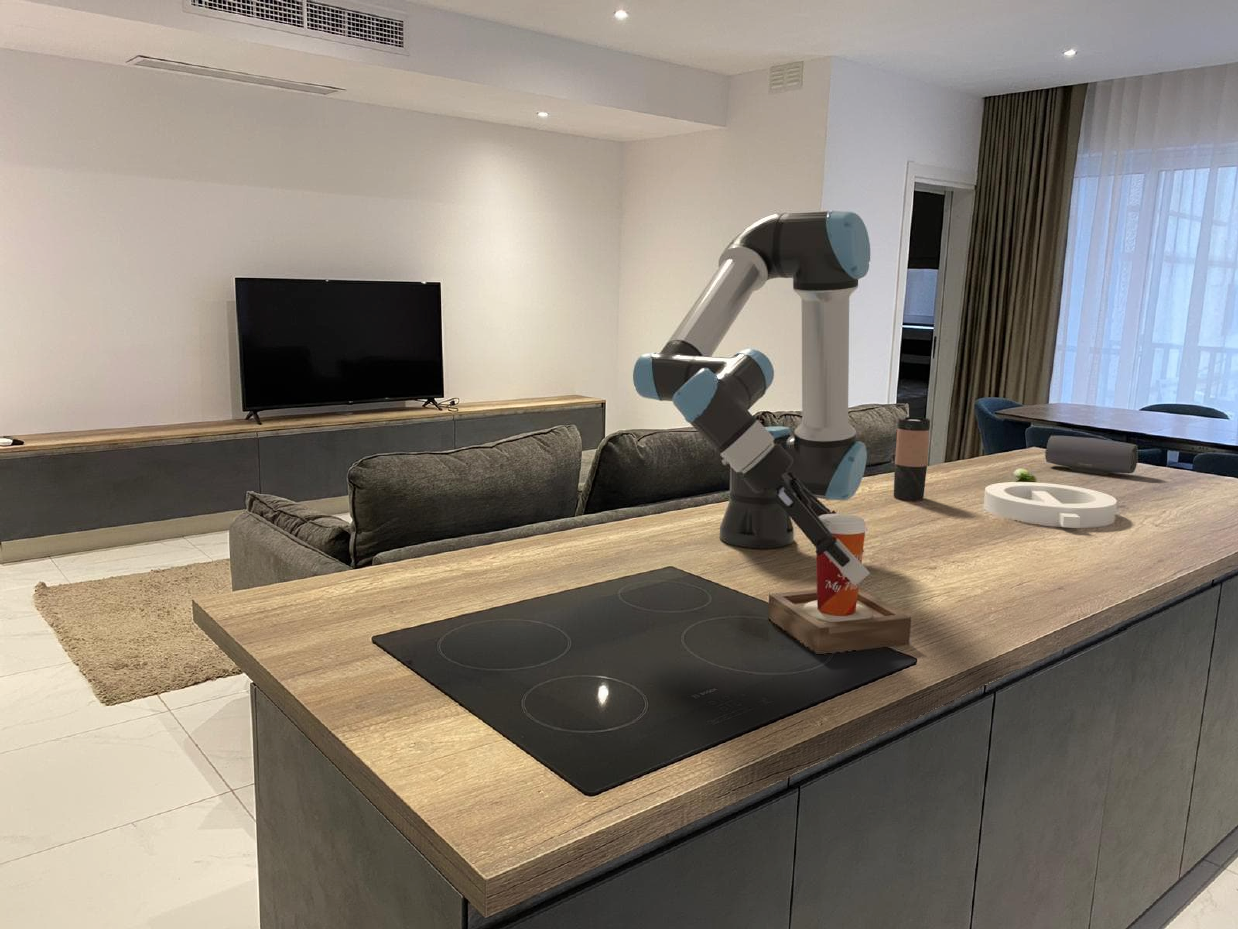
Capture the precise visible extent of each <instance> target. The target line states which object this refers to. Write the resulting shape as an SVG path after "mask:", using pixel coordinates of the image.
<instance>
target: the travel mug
mask: <svg viewBox="0 0 1238 929" xmlns="http://www.w3.org/2000/svg"><path fill="white" fill-rule="evenodd" d="M897 420H898V422H897V430H896V431H897V434H896V447H895V455H894V456H895V458H894V475H893V476H894V479H893V497H894V499H896V500H900V501H906V502H907V501H909V502H919V501H923V499H924V497H925V496H924V495H925V487H926V478H927V468H928V458H929V457H928V455H929V444H930V441H929V440H930V427H931V426H930V425H931V419H929V418H925V417H917V416H907V417H905V418H903V419H902V418H900V417H899V418H897Z"/></svg>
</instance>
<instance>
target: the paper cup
mask: <svg viewBox="0 0 1238 929" xmlns="http://www.w3.org/2000/svg"><path fill="white" fill-rule="evenodd" d="M819 518H820V520H821V521H822V522H823V524H824V525H825V526H826V527H827V529H828V530H829V531H830V533H831V534H832V535H833V536H834V537H835V538H836V540H837V539H839V540H840V541H841V543H842V544H843V545H844V546H845V547H846V548H847V549H848V550H849V551H850V552H851V553H852V554H853V555H854V556H855V557H856V559H857V560H858V561H859V562H860V563H861V564H862V561H863V553H864V552H863V549H864V545H865V538H866V532H867V531H868V527H867V525H866V522H865V520H864V518H863V517H859V516H858V515H857V516H856V515H853V514H848V513H847V514H845V513H837V514H824V515H821V516H819ZM824 538H825V537H823V538H822V539H824ZM822 539H821V540H822ZM815 551H817V549H816V548H815ZM815 553H816V552H815ZM815 556H816V563H815V564H816V589H817V607H818V610H819V611H820V612H822V613H825V614H828V615H834V616H847V615H852V614H854V613H855V610H856V604H857V596H858V588H859V589H860V587H859V586H860V582H859V583H858V584H856V585H854V584H853V583H852V582H851V581H850V580H849V579H848V578H847V577H846V576H845V575H844V574H843V573H842V572H841V570H840V569H839V568H838V567H837V566H836V565H835V564H834V563H833V562H832V561H831V560H830V559H829V558H828V557H827V556H826V554H825V553H822V554H821V555H820V556H819V555H818V554H817V553H816V555H815Z"/></svg>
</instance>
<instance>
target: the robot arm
mask: <svg viewBox="0 0 1238 929" xmlns="http://www.w3.org/2000/svg"><path fill="white" fill-rule="evenodd" d="M870 262H871V243H870V237H869V232H868V229H867V226H866V224H865V223H864V220H863V219H862V218H861V217H860V215H859V214H858V213H855V212H853V211H845V210H843V211H842V210H840V211H839V210H834V209H833V210H827V211H826V210H825V211H812V212H811V211H810V212H794V213H791V212H790V213H787V212H784V213H782V212H781V213H774V214H772V215H771V214H770V215H768V216H766V217H764V218H761V219H760V220H758V221H756V222H754V223H752V224H751V225H750V226H748V227H747V228H745V229H744V230H743V231H741V232H740V233H739V234H738V235H737V236H735V238H733V239H732V240H731V241H730V243H729V244H728V245H727V246H726V248H724V251H722V253H721V255H720V256H719V258H718V265H717V266H718V268H717V270H716V271H715V273H714V275H713V276H712V277H711V279H710V280H709V282H708V283H707V285H706V286H705V288H704V289H703V291H702V292H701V293H700V295H699V296H698V297H697V299H696V300H695V302H694V303H693V305H692V307H690V309H689V311H687V313H686V314H685V316H684V318H683V319H682V321H681V322H680V324H679V325H678V327H677V328H676V330H674V333H673V334H672V335H671V337H670V338H669V339H668V341H667V342H666V343H665V345H664V347H663V348H662V350H660V352H659V353H656V352H652V353H651V352H650V353H644V354H643V355H640V356H639V357H638V359H637V360H636V361H635V364H634V367H633V371H632V382H633V385H634V387H635V391H636V392H637V394H638V395H639V396H640V397H642V398H644V399H650V400H655V401H660V402H663V401H664V402H672V403H673V404H672V405H674V407H675V408H676V409H677V410H678V411H679V413H680V414H681V415H682V416H683V417H684V420H685V421H686V422H687V423H689V424H690V425H691V426H692V427H693V428H694V429H695V430H696V431H697V432H698V433H699V434H700V435H701V436H702V438H704V440H706V442H708V444H709V445H710V446H711V447H712V448H714V450H715V451H716V453H717V454H719V455H720V457H722V459H721V463H722V464H723V465H724V466H726V465H728V464H729V466H730V470H729V471H730V472H729V473H730V474H729V501H728V505H727V507H726V510H725V513H724V515H723V517H722V519H721V520H722V521H721V523H720V526H719V539H720V540H721V541H722V542H724V543H726V544H729V545H733V546H736V547H742V548H749V549H777V548H785V547H788V546H790V545H791V544H793V543H794V540H795V532H794V531H795V529H794V525H793V522H794V523H795V524H796V526H797V527H798V529H800V530H801V532H802V533H803V534H804V536H806V538H807V539H808V540H809V542H811V544H812V545H813V547H815V553H817V554H818V555H819V556H820V555H821V554H822V553H825V554H826V556H827V557H828V558H829V559H830V560H831V561H832V562H833V563H834V564H835V565H836V566H837V567H838V568H839V569H840V570H841V572H842V573H843V574H844V575H845V576H846V577H847V578H848V579H849V580H850V581H851V582H852V583H853V584H854V585H856V584H858V583H859V584H860V583H861V581H863V580H864V579H865V578H867V577H868V576H869V575H870V571H869V570H868V569H867V568H866V567H865V566H864V565H863V564H862V563H860V562H859V561H858V560H857V559H856V557H855V556H854V555H853V554H852V553H851V552H850V551H849V550H848V549H847V548H846V547H845V546H844V545H843V544H842V543H841V541H840V540H839V539H837V540H836V538H835V537H834V536H833V535H832V534H831V533H830V531H829V530H828V529H827V527H826V526H825V525H824V524H823V522H822V521H821V520H820V518H819V516H821V515H824V514H838V513H837V512H836V511H835V510H832V511H831V509H830V508H828V507H827V506H826V505H824V503H823V502H821V501H820V500H819V499H821V500H825V501H840V502H841V501H848V500H850V499H851V498H853V496H854V495H855V494H856V493H857V491H858V490H859V488H860V485H861V483H862V480H863V477H864V474H865V470H866V466H867V459H868V458H867V457H868V456H867V455H868V451H867V446H866V444H865V443H863V442H862V441H860V440H859V441H857V430H856V429H855V427H854V426H852V425H851V424H850V423H849V373H850V370H849V369H850V368H849V366H850V363H849V362H850V361H849V360H850V359H849V358H850V350H849V348H850V297H851V295H852V294H854V292H855V291H857V289H858V288H859V280H860V279H862V278H864V277H865V276H867V274H868V272H869V268H870ZM777 278H778V279H782V278H783V279H792V290H793V291H794V292H795V293H796V294H797V295H798V296H799V297H800V299H801V408H802V409H801V412H802V413H801V419H802V420H801V423H800V424H799V425H798V426H797V427H796V428H795V430H794V432H793V434H794V435H791V434H792V430H791V429H790V427H788V426H776V425H775V426H764V425H763V424H762V423H761V422H760V421H759V419H757V418H755V417H754V415H752V413H751V412H750V411H749V410H750V409H751V408H752V407H753V406H754V404H756V402H758V401H759V400H760V399H762V398H763V397H764V396H765V394H766V393H767V390H768V389H769V388H770V386H771V385H772V384H773V381H774V378H775V370H774V366H773V364H772V362H771V360H770V359H769V357H767V355H765V354H764V352H762V351H759V350H758V349H757V350H756V349H752V348H748V349H743V350H740V351H739V352H736V353H735V354H734V355H733V356H732V357H720V356H713V354H715V352H716V350H717V348H718V347H719V346H720V344H721V343H722V341H723V339H724V338H725V336H726V334H727V333H728V331H729V330H730V328H731V326H732V325H733V323H734V322H735V321H736V319H737V317H738V316H739V314H740V313H741V311H742V310H743V308H744V306H745V305H746V303H747V302H748V300H749V299H750V298H751V296H752V294H753V293H754V292H756V291H758V290H761V288H762V287H764V285H765V284H766V282H767V281H769V280H773V279H777ZM792 521H793V522H792ZM823 537H825V538H824V539H822V538H823ZM821 539H822V540H821ZM816 549H817V551H816ZM864 552H865V549H864V548H863V553H864Z"/></svg>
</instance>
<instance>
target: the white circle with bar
mask: <svg viewBox="0 0 1238 929" xmlns="http://www.w3.org/2000/svg"><path fill="white" fill-rule="evenodd" d="M1117 502H1118V501H1117V499H1116V498H1115V497H1113V496H1112V495H1110V494H1107V493H1105V492H1101V491H1097V490H1094V489H1089V488H1084V487H1080V486H1072V485H1067V484H1066V485H1065V484H1058V483H1049V482H1048V483H1047V482H1036V483H1035V482H1027V481H1023V482H1014V481H1013V482H1010V481H1009V482H998V483H994V484H993V483H992V484H990V485H987V486H986V487H985V488H984V497H983V509H984V510H985V511H986V512H987V513H990V514H992V515H995V516H998V517H1000V518H1003V517H1004V519H1006V518H1007V520H1011V521H1015V520H1017V521H1016V522H1019V521H1021V522H1020V523H1025V524H1032V525H1037V524H1038V525H1039V526H1048V527H1058V528H1071V529H1073V528H1074V529H1075V528H1076V529H1080V528H1081V529H1082V528H1086V529H1087V528H1097V527H1098V528H1099V527H1105V526H1109V525H1112V524H1113V523H1114V522H1115V521H1116V511H1117Z"/></svg>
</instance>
